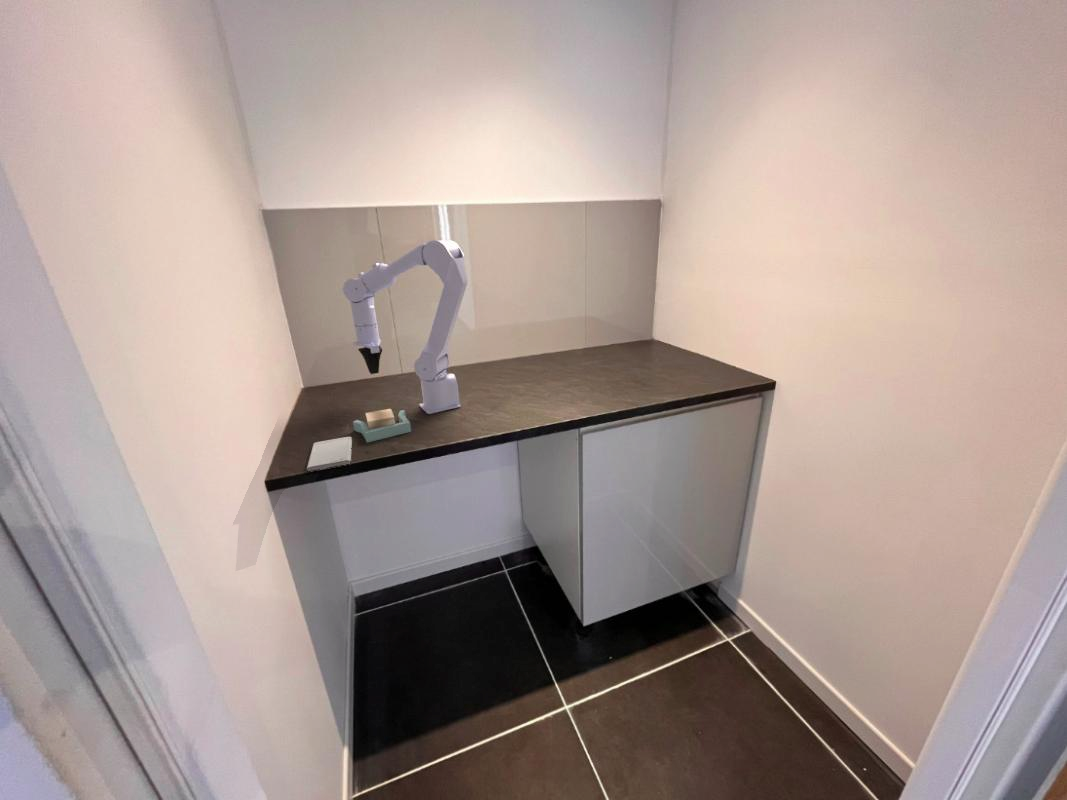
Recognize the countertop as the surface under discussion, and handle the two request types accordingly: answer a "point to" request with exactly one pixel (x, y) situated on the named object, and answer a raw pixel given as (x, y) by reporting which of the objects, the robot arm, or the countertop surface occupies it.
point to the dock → (383, 429)
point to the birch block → (380, 418)
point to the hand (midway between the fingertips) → (374, 373)
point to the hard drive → (330, 453)
